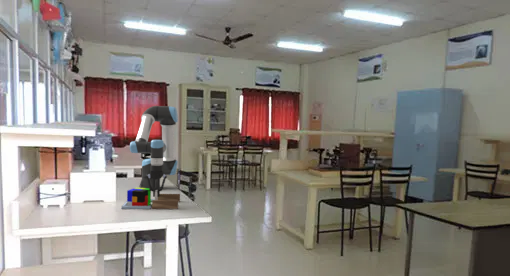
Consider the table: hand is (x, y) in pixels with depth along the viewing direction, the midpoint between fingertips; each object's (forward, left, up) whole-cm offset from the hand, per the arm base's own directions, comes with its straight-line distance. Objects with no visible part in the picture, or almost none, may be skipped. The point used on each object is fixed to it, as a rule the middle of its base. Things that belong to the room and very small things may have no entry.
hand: (156, 201), depth 203 cm
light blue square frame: (0, -10, -2) cm, 10 cm away
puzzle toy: (+1, -10, -2) cm, 10 cm away
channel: (0, +6, -2) cm, 7 cm away
